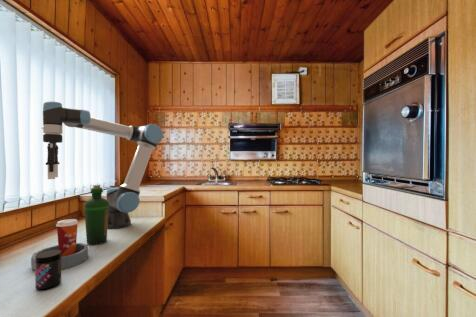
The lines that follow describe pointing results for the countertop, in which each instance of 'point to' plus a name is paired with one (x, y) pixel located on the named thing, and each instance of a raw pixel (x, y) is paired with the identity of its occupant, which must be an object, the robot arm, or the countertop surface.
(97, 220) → the bottle
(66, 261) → the bowl
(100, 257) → the countertop surface
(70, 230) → the paper cup
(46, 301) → the countertop surface
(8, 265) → the countertop surface
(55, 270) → the supplement container
